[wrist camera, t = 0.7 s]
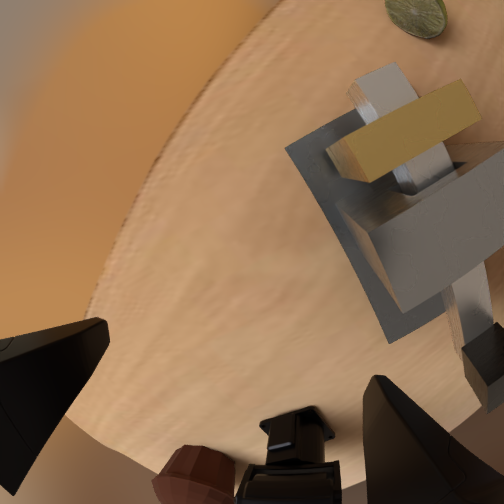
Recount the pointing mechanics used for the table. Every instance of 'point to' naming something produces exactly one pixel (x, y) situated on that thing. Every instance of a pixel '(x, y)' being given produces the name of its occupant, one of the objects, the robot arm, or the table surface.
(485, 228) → the block
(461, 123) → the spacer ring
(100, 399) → the table surface
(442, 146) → the shaft
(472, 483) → the robot arm
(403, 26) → the lime
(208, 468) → the muffin
